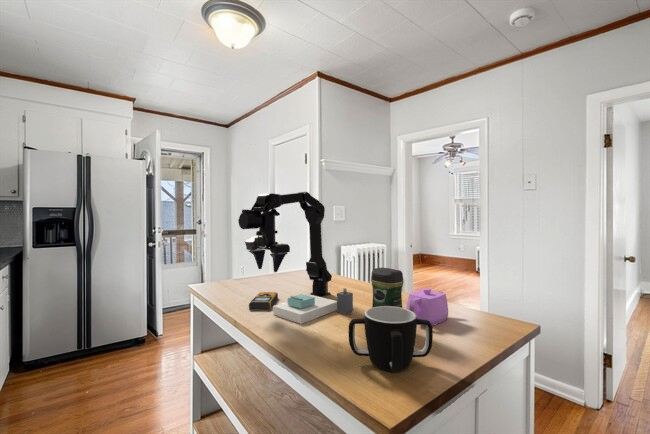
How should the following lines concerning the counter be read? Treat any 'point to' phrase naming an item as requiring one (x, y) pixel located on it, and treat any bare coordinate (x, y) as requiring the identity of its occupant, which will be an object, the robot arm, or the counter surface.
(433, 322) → the teapot
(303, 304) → the block
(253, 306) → the electronic device
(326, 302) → the socket plate
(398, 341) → the mug
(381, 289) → the coffee jar
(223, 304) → the counter surface
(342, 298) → the plug
